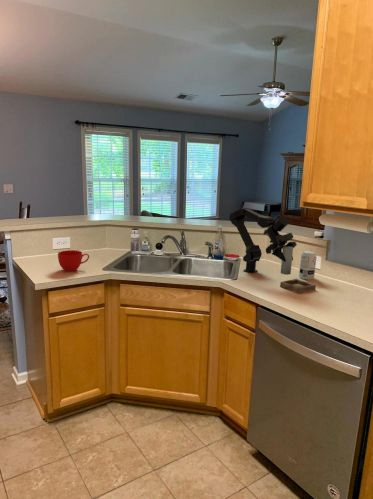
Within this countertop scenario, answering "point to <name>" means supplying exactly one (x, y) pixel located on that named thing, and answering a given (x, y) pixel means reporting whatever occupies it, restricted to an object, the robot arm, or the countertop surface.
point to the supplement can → (307, 265)
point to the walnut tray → (298, 286)
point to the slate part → (287, 260)
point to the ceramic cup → (71, 260)
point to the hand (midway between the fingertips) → (288, 260)
